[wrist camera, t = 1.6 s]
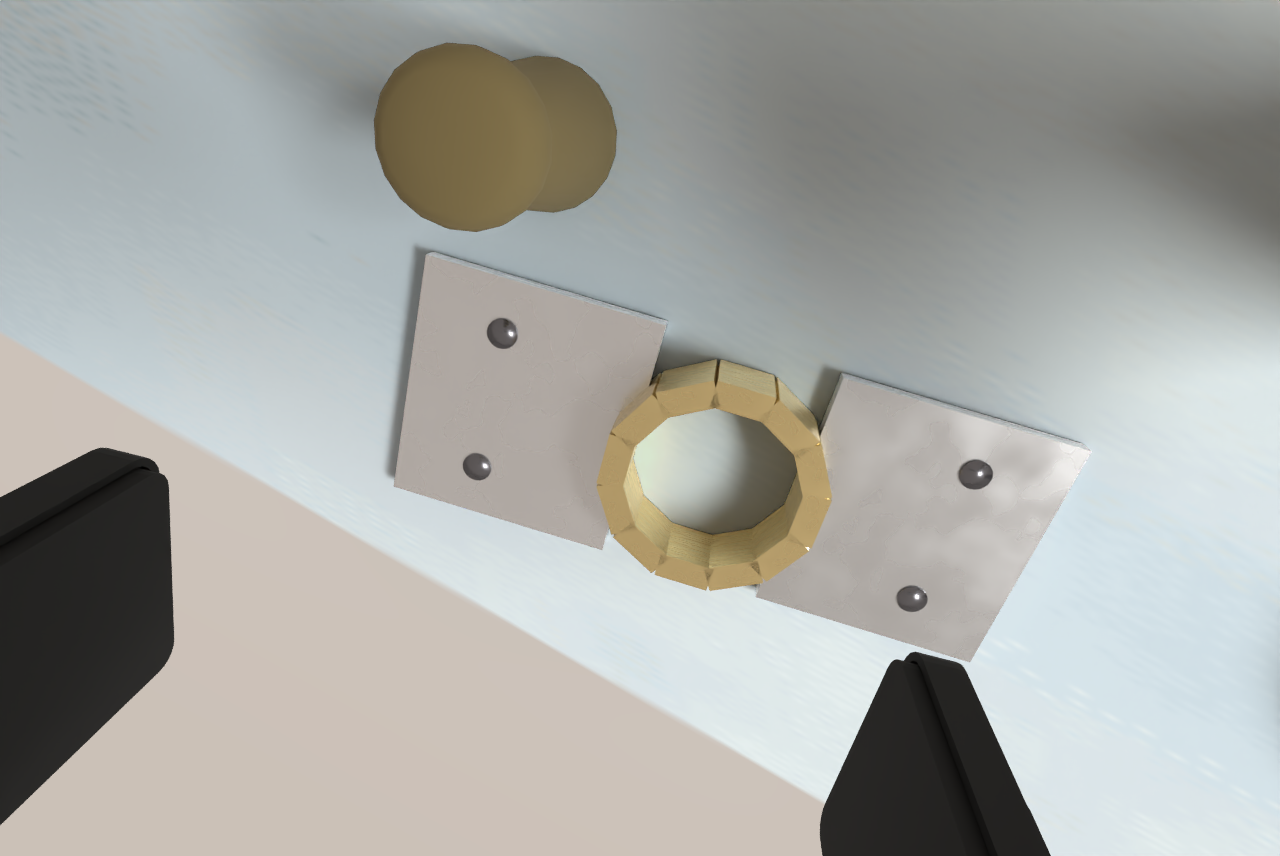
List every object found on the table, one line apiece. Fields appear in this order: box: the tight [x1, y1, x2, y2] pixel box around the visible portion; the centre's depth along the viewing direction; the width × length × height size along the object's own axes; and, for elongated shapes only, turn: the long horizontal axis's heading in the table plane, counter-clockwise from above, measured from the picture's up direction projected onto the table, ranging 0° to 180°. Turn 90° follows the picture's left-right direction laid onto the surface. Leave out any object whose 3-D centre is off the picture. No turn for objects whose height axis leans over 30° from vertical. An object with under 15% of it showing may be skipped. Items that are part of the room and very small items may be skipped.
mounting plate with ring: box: [394, 252, 1092, 662], centre depth 33 cm, size 12×30×3 cm, turn 75°
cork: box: [374, 43, 617, 232], centre depth 25 cm, size 6×6×11 cm
